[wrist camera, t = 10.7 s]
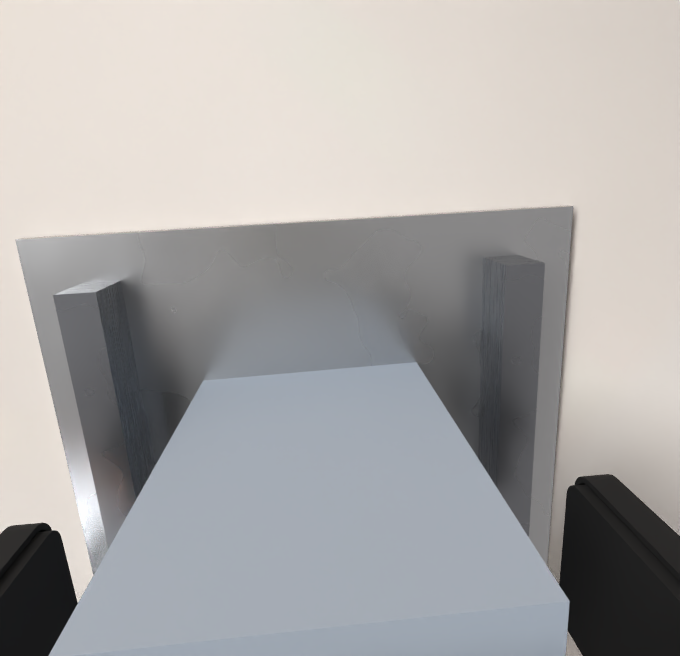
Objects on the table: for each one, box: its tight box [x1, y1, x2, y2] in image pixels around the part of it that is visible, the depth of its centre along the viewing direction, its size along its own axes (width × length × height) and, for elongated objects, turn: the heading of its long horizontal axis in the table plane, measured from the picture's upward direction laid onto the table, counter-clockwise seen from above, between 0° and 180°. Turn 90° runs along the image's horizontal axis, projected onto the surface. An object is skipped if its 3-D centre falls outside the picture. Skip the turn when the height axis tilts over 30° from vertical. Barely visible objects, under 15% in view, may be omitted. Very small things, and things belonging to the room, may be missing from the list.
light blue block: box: [49, 362, 570, 656], centre depth 8 cm, size 5×5×8 cm
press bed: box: [16, 206, 573, 575], centre depth 12 cm, size 13×12×2 cm
